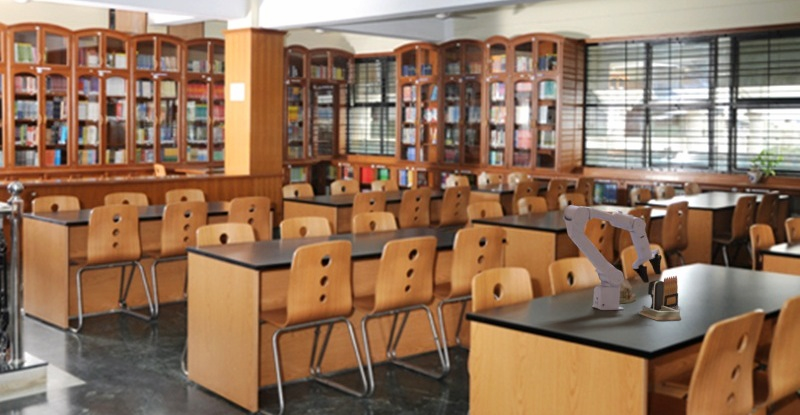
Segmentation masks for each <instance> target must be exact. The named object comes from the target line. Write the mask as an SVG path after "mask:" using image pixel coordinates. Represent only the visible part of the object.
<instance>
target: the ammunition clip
mask: <svg viewBox="0 0 800 415" xmlns="http://www.w3.org/2000/svg"><path fill="white" fill-rule="evenodd" d="M663 282H664V295H663V306H666V307H669V308H673V307H679V306H678V305H679V293H678V290H679V289H678V287H679V286H678V277H677V275H675V276H674V275H673V276H668V277H664V279H663Z"/></svg>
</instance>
